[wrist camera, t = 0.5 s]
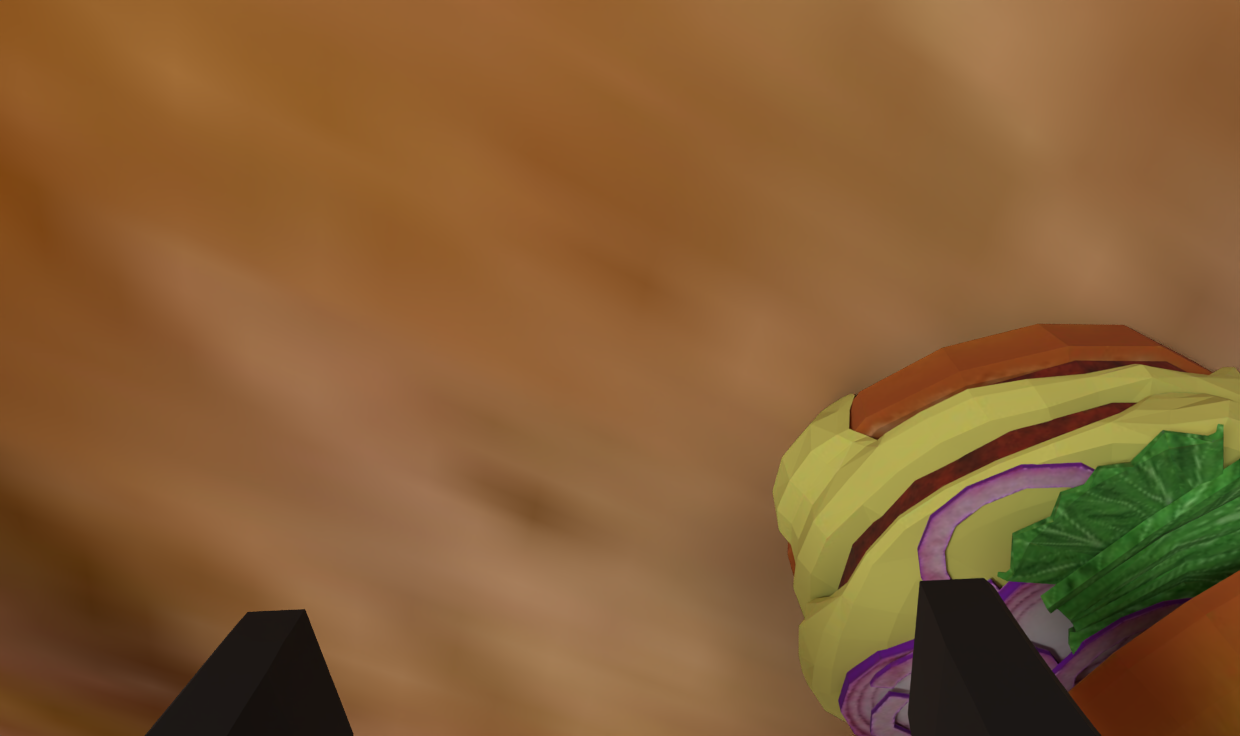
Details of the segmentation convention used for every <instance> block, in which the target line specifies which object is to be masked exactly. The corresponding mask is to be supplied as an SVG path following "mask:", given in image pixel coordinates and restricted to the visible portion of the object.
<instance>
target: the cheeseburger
mask: <svg viewBox="0 0 1240 736" xmlns="http://www.w3.org/2000/svg"><path fill="white" fill-rule="evenodd" d="M854 396H855V395H854V394H849V395H847V396H845V397H842V398H841V399H839V400H838V401H836V402H834V403H833V404H831V405H830V406H828V407H827V408H825V409H824V410H823V411H822V412H820V413H819V415H818V416H817V417H816V418H815V419H814V420H813V421H812V422H811V424H810V425H809V426H808V427H807V428H806V429H805V430H804V431H803V433H802V434H801V435H800V436H799V437H798V438H797V439H796V441H795V442H794V443H793V444H792V446H791V447H790V448H789V449H788V451H787V452H786V453H785V454H784V456H783V457H782V459H781V463H780V466H779V470H778V474H777V477H776V481H775V484H774V488H773V491H772V492H773V498H774V504H775V510H776V515H777V521H778V527H779V531H780V532H781V533H782V535H783V536H784V537H785V538H786V540H787V541H788V557H789V561H790V564H791V568H792V571H793V575H794V583H793V588H794V591H795V594H796V596H797V599H798V602H799V605H800V607H801V610H802V613H803V615H804V618H805V619H804V620H803V621H802V623H801V624H800V625H799V660H800V664H801V668H802V672H803V674H804V677H805V679H806V682H807V684H808V686H809V687H810V689H811V690H812V692H813V693H814V695H815V696H816V698H817V699H818V701H819V702H820V704H821V705H822V707H823V708H824V709H825V711H827V712H829V713H830V714H832V715H834V716H836V717H838V718H839V719H841V720H843V721H845V722H847V723H848V724H849V726H850V727H851V729H852V731H853V732H854V734H855V735H857V736H911V731H910V725H909V719H908V704H909V693H910V682H911V671H912V660H913V649H914V638H915V627H916V616H917V605H918V594H919V583H920V581H926V580H948V579H969V578H984V579H986V580H987V581H988V582H989V583H991V584H992V585H993V586H994V587H995V589H996V590H997V592H998V593H999V595H1000V596H1001V598H1002V600H1003V601H1004V603H1005V604H1006V606H1007V607H1008V609H1009V610H1010V612H1011V613H1012V614H1013V616H1014V617H1015V619H1016V620H1017V622H1018V623H1019V625H1020V626H1021V628H1022V629H1023V631H1024V632H1025V634H1026V635H1027V636H1028V638H1029V639H1030V641H1031V642H1032V644H1033V645H1034V646H1035V648H1036V649H1037V651H1038V652H1039V653H1040V655H1041V656H1042V658H1043V659H1044V660H1045V662H1046V663H1047V664H1048V666H1049V667H1050V669H1051V670H1052V671H1053V673H1054V674H1055V675H1056V677H1057V678H1058V679H1059V681H1060V682H1061V683H1062V685H1063V686H1064V687H1065V689H1066V690H1067V691H1068V693H1069V694H1070V696H1071V697H1072V698H1073V700H1074V701H1075V702H1076V704H1077V705H1078V706H1079V707H1080V709H1081V710H1082V711H1083V713H1084V714H1085V715H1086V716H1087V718H1088V719H1089V720H1090V722H1091V723H1092V724H1093V726H1094V727H1095V728H1096V729H1097V731H1098V732H1099V733H1100V734H1101V736H1240V373H1239V372H1238V371H1237V370H1236V368H1235V367H1223V368H1221V369H1219V370H1217V371H1215V372H1214V373H1213V372H1211V371H1209V370H1207V369H1206V368H1204V367H1202V366H1200V365H1199V364H1197V363H1195V362H1194V361H1192V360H1190V359H1188V358H1186V357H1184V356H1182V355H1180V354H1178V353H1177V352H1175V351H1173V350H1171V349H1169V348H1167V347H1165V346H1163V345H1161V344H1159V343H1157V342H1155V341H1154V340H1152V339H1150V338H1148V337H1146V336H1144V335H1142V334H1140V333H1138V332H1136V331H1134V330H1132V329H1130V328H1129V327H1127V326H1125V325H1082V324H1036V325H1032V326H1028V327H1024V328H1020V329H1016V330H1012V331H1008V332H1004V333H1000V334H996V335H992V336H988V337H984V338H980V339H976V340H972V341H968V342H964V343H960V344H956V345H952V346H948V347H944V348H941V349H939V350H937V351H935V352H934V353H932V354H930V355H928V356H926V357H924V358H922V359H920V360H919V361H917V362H915V363H913V364H911V365H909V366H907V367H905V368H903V369H902V370H900V371H898V372H896V373H894V374H892V375H890V376H888V377H887V378H885V379H883V380H881V381H879V382H877V383H875V384H873V385H872V386H870V387H868V388H866V389H864V390H862V391H860V392H859V393H858V395H857V396H856V397H855V398H854Z"/></svg>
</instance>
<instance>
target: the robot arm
mask: <svg viewBox="0 0 1240 736" xmlns="http://www.w3.org/2000/svg"><path fill="white" fill-rule="evenodd" d="M908 719H909V725H910V731H911V736H1101V734H1100V733H1099V732H1098V731H1097V729H1096V728H1095V727H1094V726H1093V724H1092V723H1091V722H1090V720H1089V719H1088V718H1087V716H1086V715H1085V714H1084V713H1083V711H1082V710H1081V709H1080V707H1079V706H1078V705H1077V704H1076V702H1075V701H1074V700H1073V698H1072V697H1071V696H1070V694H1069V693H1068V691H1067V690H1066V689H1065V687H1064V686H1063V685H1062V683H1061V682H1060V681H1059V679H1058V678H1057V677H1056V675H1055V674H1054V673H1053V671H1052V670H1051V669H1050V667H1049V666H1048V664H1047V663H1046V662H1045V660H1044V659H1043V658H1042V656H1041V655H1040V653H1039V652H1038V651H1037V649H1036V648H1035V646H1034V645H1033V644H1032V642H1031V641H1030V639H1029V638H1028V636H1027V635H1026V634H1025V632H1024V631H1023V629H1022V628H1021V626H1020V625H1019V623H1018V622H1017V620H1016V619H1015V617H1014V616H1013V614H1012V613H1011V612H1010V610H1009V609H1008V607H1007V606H1006V604H1005V603H1004V601H1003V600H1002V598H1001V596H1000V595H999V593H998V592H997V590H996V589H995V587H994V586H993V585H992V584H991V583H989V582H988V581H987V580H986V579H984V578H969V579H948V580H926V581H920V583H919V594H918V605H917V616H916V627H915V638H914V649H913V660H912V671H911V682H910V693H909V704H908ZM145 736H353V732H352V729H351V727H350V724H349V721H348V719H347V716H346V714H345V711H344V708H343V706H342V703H341V701H340V698H339V696H338V693H337V690H336V688H335V685H334V683H333V680H332V678H331V675H330V672H329V670H328V667H327V665H326V662H325V660H324V657H323V654H322V652H321V649H320V647H319V644H318V642H317V639H316V636H315V634H314V631H313V629H312V626H311V623H310V621H309V618H308V616H307V613H306V611H305V609H301V610H280V611H258V612H247V613H246V615H245V616H244V617H243V618H242V619H241V620H240V621H239V622H238V624H237V625H236V626H235V627H234V628H233V630H232V631H231V632H230V633H229V634H228V635H227V637H226V638H225V639H224V640H223V641H222V643H221V644H220V645H219V646H218V647H217V649H216V650H215V651H214V652H213V654H212V655H211V656H210V657H209V658H208V660H207V661H206V662H205V663H204V665H203V666H202V667H201V668H200V669H199V671H198V672H197V673H196V674H195V676H194V677H193V678H192V679H191V680H190V682H189V683H188V684H187V685H186V687H185V688H184V689H183V690H182V691H181V693H180V694H179V695H178V696H177V697H176V699H175V700H174V701H173V702H172V704H171V705H170V706H169V707H168V708H167V710H166V711H165V712H164V713H163V714H162V716H161V717H160V718H159V719H158V720H157V722H156V723H155V724H154V725H153V726H152V728H151V729H150V730H149V731H148V732H147V734H146V735H145Z"/></svg>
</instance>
